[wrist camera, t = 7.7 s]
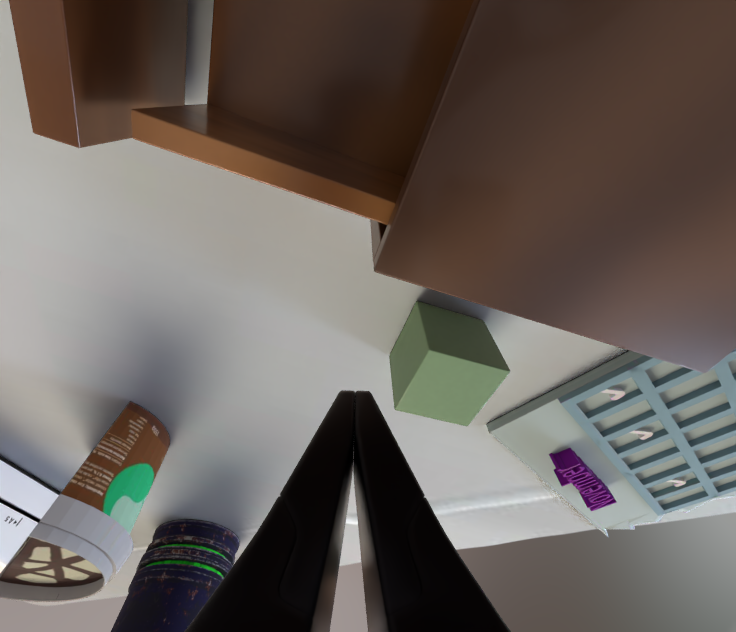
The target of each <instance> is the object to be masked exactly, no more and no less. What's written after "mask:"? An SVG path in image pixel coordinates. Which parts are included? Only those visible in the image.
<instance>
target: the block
mask: <svg viewBox="0 0 736 632" xmlns="http://www.w3.org/2000/svg"><path fill="white" fill-rule="evenodd" d="M389 358H390V368H391V378H392V388H393V397H394V407H395V410H397V411H402V412H406V413H411V414H415V415H419V416H424V417H428V418H433V419H437V420H441V421H446V422H450V423H455V424H459V425H464V426H468V425H469V424H470V423H471V421H472V420H473V419H474V418H475V416H476V415H477V414H478V412H479V411H480V410H481V409H482V407H483V406H484V405H485V403H486V402H487V401H488V400H489V398H490V397H491V396H492V395H493V393H494V392H495V391H496V389H497V388H498V387H499V386H500V384H501V383H502V382H503V381H504V379H505V378H506V377H507V375H508V374H509V373H510V369H509V368H508V366H507V364H506V362H505V360H504V358H503V356H502V354H501V353H500V351H499V349H498V347H497V345H496V343H495V341H494V339H493V338H492V336H491V334H490V332H489V330H488V328H487V326H486V324H485V322H484V321H482V320H479V319H476V318H472V317H469V316H466V315H462V314H459V313H456V312H452V311H449V310H446V309H442V308H439V307H435V306H432V305H429V304H425V303H422V302H419V301H417V302H416V303H415V305H414V307H413V309H412V311H411V313H410V315H409V317H408V319H407V321H406V323H405V325H404V327H403V329H402V332H401V334H400V336H399V338H398V340H397V342H396V344H395V346H394V348H393V350H392V352H391V354H390V356H389Z"/></svg>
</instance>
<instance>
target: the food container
mask: <svg viewBox="0 0 736 632" xmlns="http://www.w3.org/2000/svg"><path fill="white" fill-rule="evenodd" d="M169 445H170V438H169V434H168V432H167V430H166V428H165V427H164V425H163V424H162V423H161V422H160V421H159V420H158V419H157V418H156V417H155V416H154V415H152V414H151V413H150V412H149V411H147V410H145V409H144V408H142V407H141V406H139V405H137V404H135V403H133V402H131V401H130V402H129V404H128V405H127V406H126V407H125V409H124V410H123V411H122V413H121V414H120V415H119V417H118V418H117V419H116V421H115V422H114V423H113V425H112V426H111V427H110V429H109V430H108V431H107V433H106V434H105V435H104V437H103V438H102V439H101V440H100V442H99V443H98V444H97V446H96V447H95V448H94V450H93V451H92V452H91V454H90V455H89V456H88V458H87V459H86V460H85V462H84V463H83V464H82V466H81V467H80V468H79V470H78V471H77V472H76V474H75V475H74V476H73V478H72V479H71V480H70V482H69V483H68V484H67V486H66V487H65V488H64V490H63V491H62V492H61V494H60V495H59V496H58V497H57V499H56V500H55V501H54V503H53V504H52V505H51V507H50V508H49V509H48V511H47V512H46V513H45V515H44V516H43V517H42V519H41V520H40V521H39V523H38V524H37V525H36V527H35V528H34V529H33V531H32V532H31V533H30V535H29V536H28V537H27V539H26V540H25V541H24V543H23V544H22V545H21V547H20V548H19V549H18V551H17V552H16V553H15V555H14V556H13V557H12V559H11V560H10V561H9V563H8V564H7V565H6V566H5V568H4V569H3V570H2V572H1V573H0V598H4V599H11V600H21V601H35V602H59V601H71V600H78V599H82V598H87V597H89V596H92V595H95V594H96V593H98V592H100V591H101V590H102V589H103V587H104V586H105V585H106V583H107V582H109V581H111V580H112V579H113V577H114V576H115V575H116V574H117V572H118V571H119V570H120V568H121V567H122V565H123V564H124V563H125V561H126V560H127V559H128V557H129V556H130V554H131V553H132V550H133V541H132V538H131V536H130V532H131V530H132V528H133V525H134V523H135V521H136V519H137V517H138V514H139V512H140V510H141V508H142V506H143V503H144V501H145V499H146V497H147V495H148V492H149V490H150V488H151V486H152V484H153V481H154V479H155V477H156V475H157V472H158V470H159V468H160V466H161V464H162V461H163V459H164V457H165V455H166V453H167V450H168V448H169Z"/></svg>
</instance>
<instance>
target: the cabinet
mask: <svg viewBox="0 0 736 632" xmlns="http://www.w3.org/2000/svg"><path fill="white" fill-rule="evenodd" d="M370 220H371V219H370ZM371 236H372V252H373V262H374V271H375V272H377V273H380V274H383V275H386V276H390V277H393V278H396V279H399V280H403V281H406V282H409V283H412V284H416V285H419V286H422V287H425V288H429V289H432V290H435V291H438V292H442V293H445V294H448V295H451V296H455V297H458V298H461V299H464V300H468V301H471V302H474V303H477V304H481V305H484V306H487V307H490V308H494V309H497V310H500V311H503V312H507V313H510V314H513V315H516V316H520V317H523V318H526V319H529V320H533V321H536V322H539V323H542V324H545V325H549V326H552V327H555V328H558V329H562V330H565V331H568V332H571V333H575V334H578V335H581V336H584V337H588V338H591V339H594V340H597V341H601V342H604V343H607V344H610V345H614V346H617V347H620V348H623V349H627V350H630V351H633V352H636V353H640V354H643V355H646V356H649V357H653V358H656V359H659V360H662V361H666V362H669V363H672V364H675V365H679V366H682V367H685V368H688V369H692V370H695V371H698V372H701V373H706V372H708V371H709V370H710V369H711V368H713V367H714V366H715V365H716V364H717V363H719V362H720V361H721V360H722V359H724V358H725V357H726V356H727V355H728V354H730V353H731V352H732V351H733V350H735V349H736V0H474V1H473V3H472V6H471V8H470V11H469V14H468V16H467V19H466V21H465V24H464V27H463V29H462V32H461V34H460V37H459V40H458V42H457V45H456V47H455V50H454V53H453V55H452V58H451V60H450V63H449V66H448V68H447V71H446V73H445V76H444V79H443V81H442V84H441V87H440V89H439V92H438V94H437V97H436V100H435V102H434V105H433V107H432V110H431V113H430V115H429V118H428V120H427V123H426V126H425V128H424V131H423V133H422V136H421V139H420V141H419V144H418V146H417V149H416V152H415V154H414V157H413V160H412V162H411V165H410V167H409V170H408V173H407V175H406V178H405V180H404V183H403V186H402V188H401V191H400V193H399V196H398V199H397V201H396V204H395V206H394V209H393V212H392V214H391V217H390V219H389V222H388V225H386V224H383V223H380V222H377V221H374V220H371Z"/></svg>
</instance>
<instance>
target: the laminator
mask: <svg viewBox="0 0 736 632" xmlns="http://www.w3.org/2000/svg"><path fill="white" fill-rule="evenodd" d="M60 494H61V493H60V492H58V491H56V490H55V489H53V488H52V487H50V486H48V485H47V484H45V483H43V482H42V481H40V480H39V479H37V478H35V477H34V476H32V475H30V474H29V473H27V472H26V471H24V470H22V469H21V468H19V467H17V466H16V465H14V464H12V463H11V462H9V461H8V460H6V459H4V458H3V457H1V456H0V573H1V572H2V570H3V569H4V568H5V566H6V565H7V564H8V563H9V561H10V560H11V559H12V557H13V556H14V555H15V553H16V552H17V551H18V549H19V548H20V547H21V545H22V544H23V543H24V541H25V540H26V539H27V537H28V536H29V535H30V533H31V532H32V531H33V529H34V528H35V527H36V525H37V524H38V523H39V521H40V520H41V519H42V517H43V516H44V515H45V513H46V512H47V511H48V509H49V508H50V507H51V505H52V504H53V503H54V501H55V500H56V499H57V497H58V496H59V495H60Z"/></svg>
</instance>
